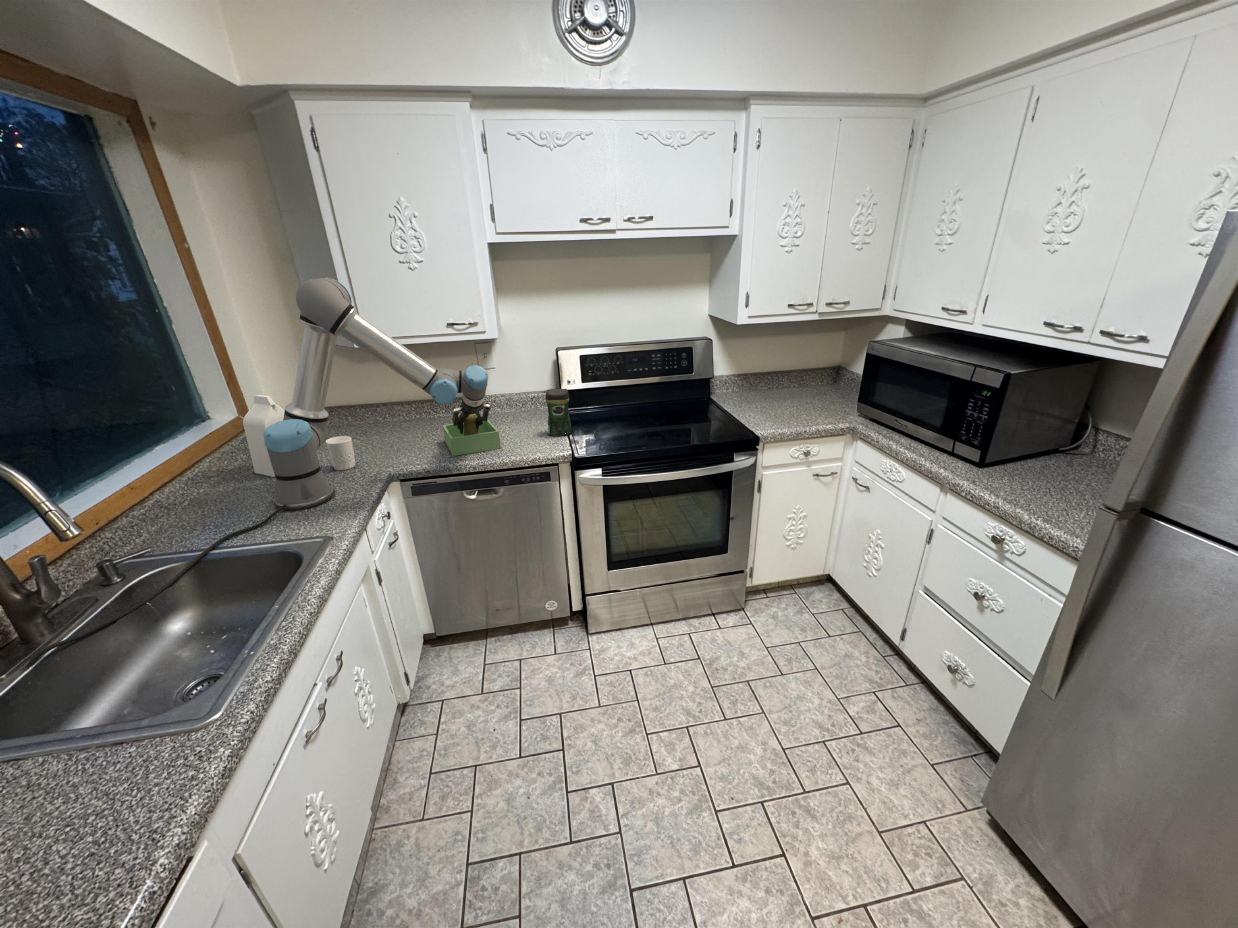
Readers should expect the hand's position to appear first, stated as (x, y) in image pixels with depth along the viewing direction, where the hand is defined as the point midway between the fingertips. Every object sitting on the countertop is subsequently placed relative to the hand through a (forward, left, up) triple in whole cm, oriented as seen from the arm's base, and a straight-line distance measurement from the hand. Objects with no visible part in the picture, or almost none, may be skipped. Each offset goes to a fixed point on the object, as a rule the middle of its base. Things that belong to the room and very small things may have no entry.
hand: (468, 430), depth 196 cm
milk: (-35, +53, -5) cm, 64 cm away
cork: (-3, -2, -4) cm, 5 cm away
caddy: (-3, -2, -5) cm, 6 cm away
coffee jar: (+15, -32, -5) cm, 36 cm away
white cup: (-30, +33, -5) cm, 45 cm away
